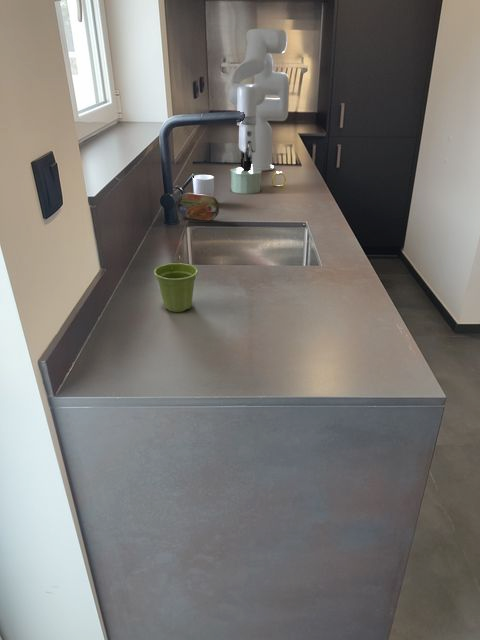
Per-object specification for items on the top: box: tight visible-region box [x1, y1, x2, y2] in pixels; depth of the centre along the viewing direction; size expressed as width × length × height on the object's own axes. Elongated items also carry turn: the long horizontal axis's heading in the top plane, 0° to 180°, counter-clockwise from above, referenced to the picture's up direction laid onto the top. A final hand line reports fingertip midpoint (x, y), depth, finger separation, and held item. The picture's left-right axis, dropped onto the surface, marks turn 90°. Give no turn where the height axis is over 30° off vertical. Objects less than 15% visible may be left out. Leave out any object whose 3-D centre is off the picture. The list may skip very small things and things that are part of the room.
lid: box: [229, 158, 263, 175], centre depth 203 cm, size 13×13×6 cm
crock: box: [230, 172, 262, 195], centre depth 206 cm, size 12×12×8 cm
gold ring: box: [271, 171, 287, 188], centre depth 215 cm, size 6×3×6 cm, turn 95°
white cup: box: [192, 174, 215, 197], centre depth 185 cm, size 8×8×10 cm
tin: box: [176, 192, 220, 222], centre depth 169 cm, size 15×3×8 cm, turn 70°
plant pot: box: [153, 262, 199, 313], centre depth 110 cm, size 9×9×9 cm
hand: (245, 169), depth 204 cm, fingers open, 4 cm apart
